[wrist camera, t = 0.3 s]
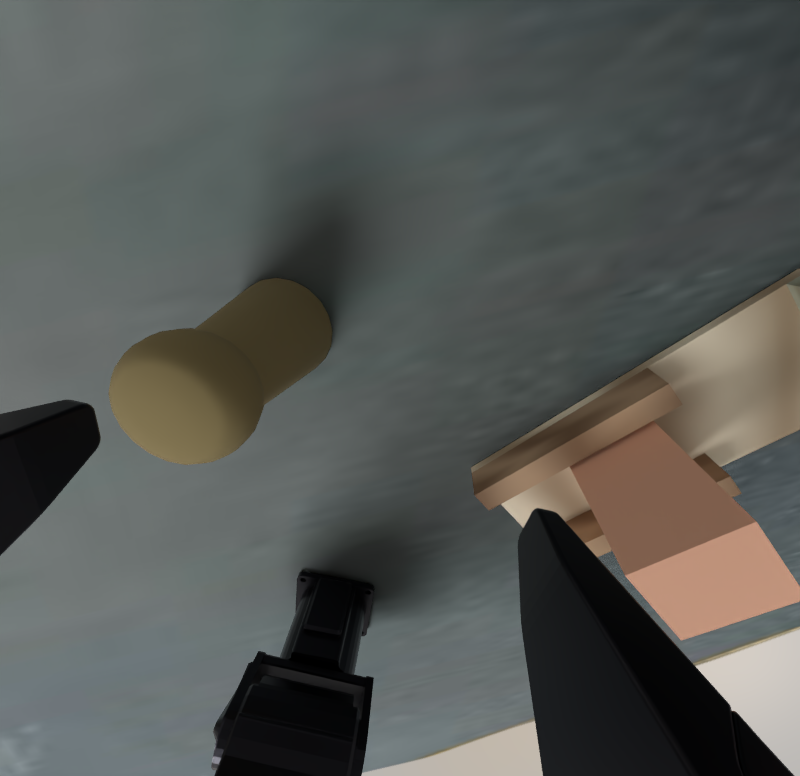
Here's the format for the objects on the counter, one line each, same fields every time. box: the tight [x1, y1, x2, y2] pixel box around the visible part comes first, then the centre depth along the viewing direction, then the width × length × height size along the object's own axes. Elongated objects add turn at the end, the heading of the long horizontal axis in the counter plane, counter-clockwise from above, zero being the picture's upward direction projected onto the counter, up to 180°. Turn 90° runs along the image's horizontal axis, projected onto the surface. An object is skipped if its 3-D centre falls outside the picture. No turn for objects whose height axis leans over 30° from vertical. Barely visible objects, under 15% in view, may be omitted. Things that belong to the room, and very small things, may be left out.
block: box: [570, 421, 800, 640], centre depth 19 cm, size 5×5×9 cm
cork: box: [109, 278, 332, 465], centre depth 18 cm, size 6×6×11 cm
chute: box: [471, 269, 800, 557], centre depth 22 cm, size 20×9×4 cm, turn 131°
